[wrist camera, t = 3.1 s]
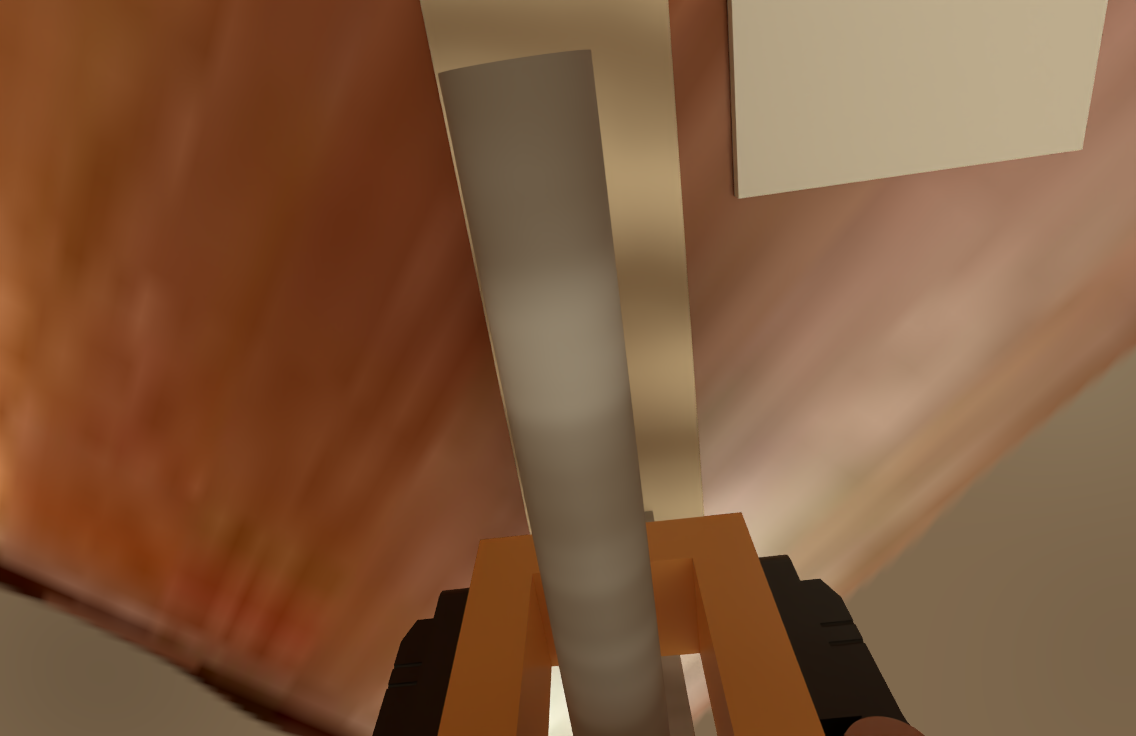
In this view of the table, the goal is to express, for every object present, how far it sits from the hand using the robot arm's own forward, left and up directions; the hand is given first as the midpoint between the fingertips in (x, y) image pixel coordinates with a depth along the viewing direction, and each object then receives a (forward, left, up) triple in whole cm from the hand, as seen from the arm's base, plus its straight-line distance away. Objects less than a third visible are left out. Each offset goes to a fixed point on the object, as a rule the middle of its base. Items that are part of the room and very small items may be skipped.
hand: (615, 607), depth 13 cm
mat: (+11, +11, -12) cm, 20 cm away
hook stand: (0, +3, -12) cm, 13 cm away
